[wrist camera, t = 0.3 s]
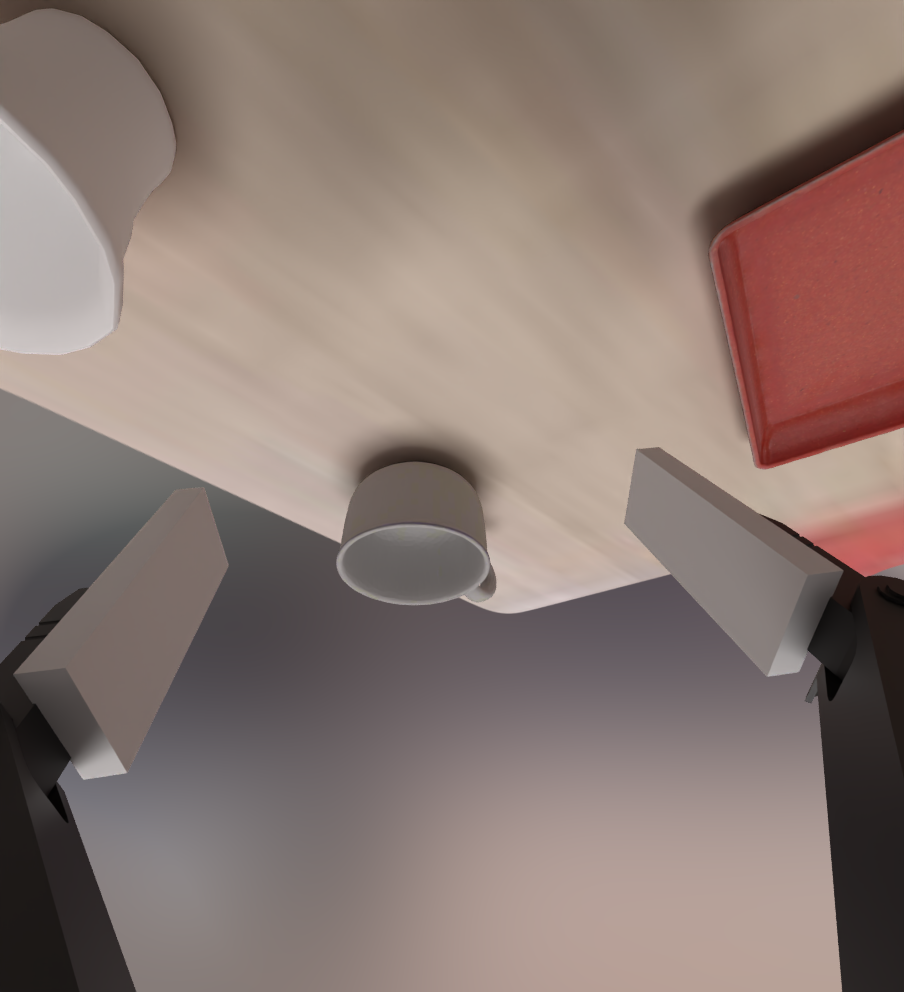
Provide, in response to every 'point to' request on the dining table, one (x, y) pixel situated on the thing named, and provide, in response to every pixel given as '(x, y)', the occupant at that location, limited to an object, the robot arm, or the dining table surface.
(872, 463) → the dining table surface
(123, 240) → the cup
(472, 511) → the teacup
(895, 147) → the plant saucer
